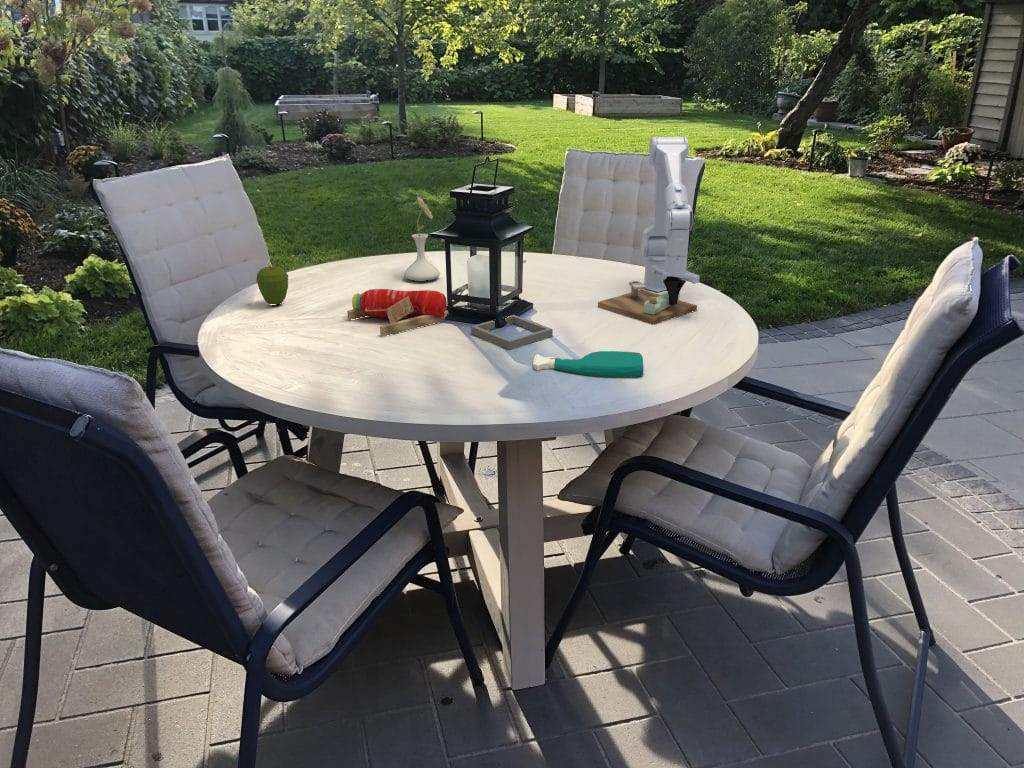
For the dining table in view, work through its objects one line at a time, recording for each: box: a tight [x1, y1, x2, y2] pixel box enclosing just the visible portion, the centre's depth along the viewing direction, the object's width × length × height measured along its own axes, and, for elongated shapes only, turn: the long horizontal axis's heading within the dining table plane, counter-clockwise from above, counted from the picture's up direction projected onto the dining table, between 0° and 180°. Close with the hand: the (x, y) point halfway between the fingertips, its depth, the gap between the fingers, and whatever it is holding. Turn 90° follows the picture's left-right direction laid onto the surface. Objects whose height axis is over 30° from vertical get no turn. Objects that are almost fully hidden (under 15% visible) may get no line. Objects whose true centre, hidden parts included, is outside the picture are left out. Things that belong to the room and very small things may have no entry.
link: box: [644, 291, 681, 315], centre depth 209 cm, size 14×4×2 cm, turn 142°
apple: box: [255, 265, 289, 305], centre depth 216 cm, size 9×8×12 cm
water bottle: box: [351, 288, 448, 324], centre depth 204 cm, size 12×8×25 cm
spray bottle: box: [532, 350, 645, 378], centre depth 174 cm, size 3×11×24 cm
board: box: [597, 280, 698, 325], centre depth 212 cm, size 18×20×6 cm
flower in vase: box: [403, 196, 441, 282], centre depth 238 cm, size 13×11×25 cm
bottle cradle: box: [346, 308, 449, 337], centre depth 205 cm, size 20×18×2 cm
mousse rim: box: [470, 314, 554, 350], centre depth 194 cm, size 14×15×2 cm
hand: (672, 304), depth 209 cm, fingers closed, pressing on link
